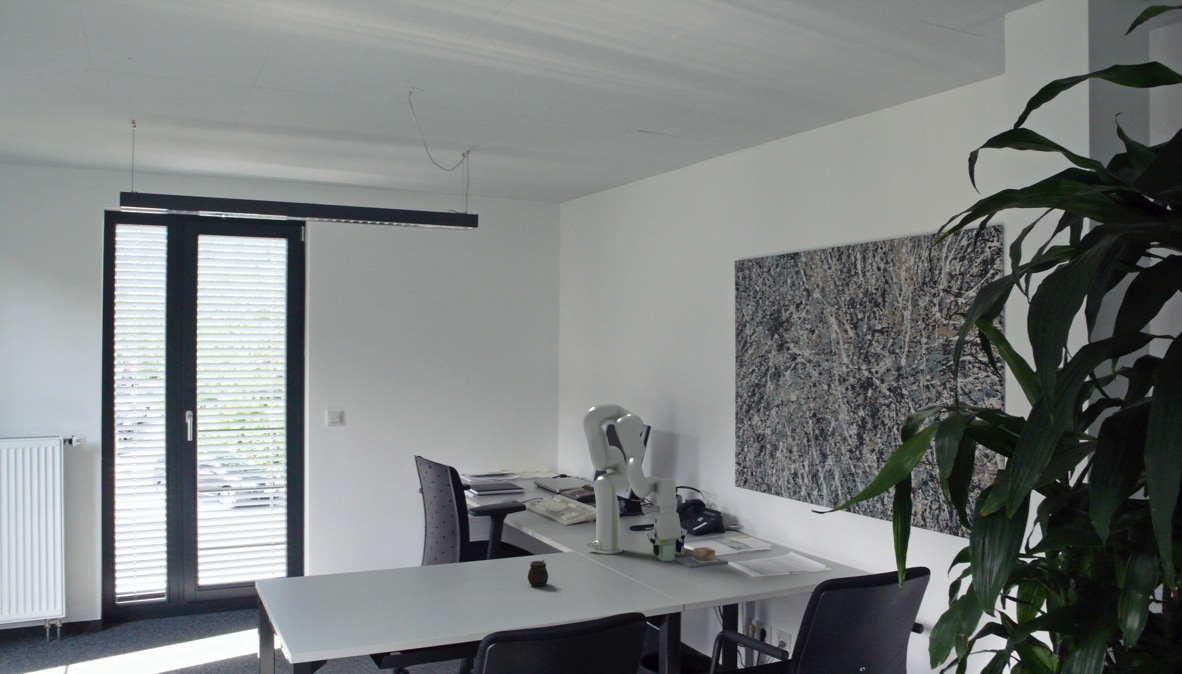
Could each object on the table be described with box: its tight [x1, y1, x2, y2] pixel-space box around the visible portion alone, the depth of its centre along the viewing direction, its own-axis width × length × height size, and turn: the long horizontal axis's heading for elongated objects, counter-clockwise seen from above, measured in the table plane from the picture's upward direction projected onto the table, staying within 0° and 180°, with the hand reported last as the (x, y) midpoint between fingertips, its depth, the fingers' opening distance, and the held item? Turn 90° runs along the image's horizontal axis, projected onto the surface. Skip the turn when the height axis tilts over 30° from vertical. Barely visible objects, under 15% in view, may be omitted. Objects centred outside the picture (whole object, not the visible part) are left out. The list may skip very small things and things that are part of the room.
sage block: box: [657, 542, 676, 562], centre depth 347 cm, size 5×5×6 cm
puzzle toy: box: [659, 524, 685, 555], centre depth 360 cm, size 10×10×10 cm
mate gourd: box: [527, 559, 549, 588], centre depth 308 cm, size 7×8×10 cm
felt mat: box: [674, 555, 729, 569], centre depth 342 cm, size 17×12×1 cm
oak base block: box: [693, 546, 716, 562], centre depth 342 cm, size 6×6×4 cm
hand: (667, 553), depth 346 cm, fingers open, 9 cm apart
